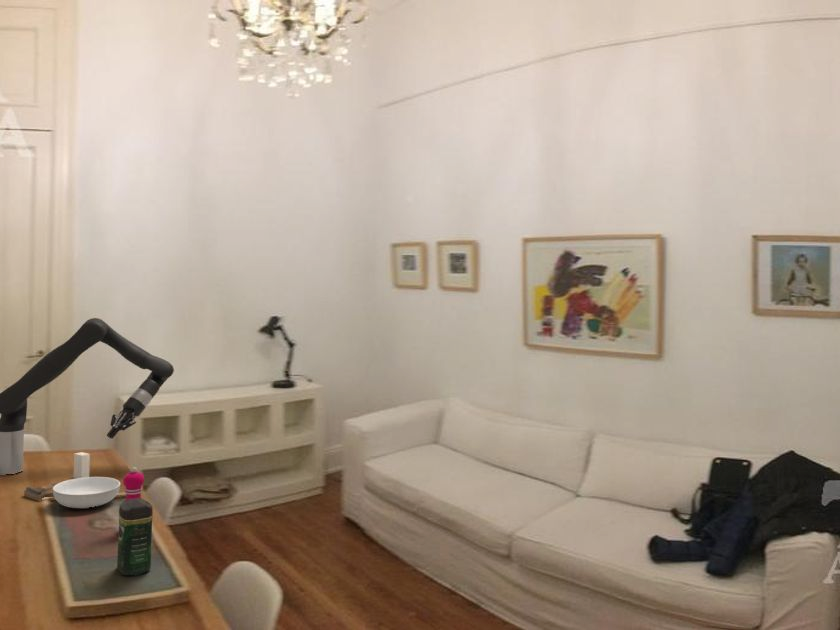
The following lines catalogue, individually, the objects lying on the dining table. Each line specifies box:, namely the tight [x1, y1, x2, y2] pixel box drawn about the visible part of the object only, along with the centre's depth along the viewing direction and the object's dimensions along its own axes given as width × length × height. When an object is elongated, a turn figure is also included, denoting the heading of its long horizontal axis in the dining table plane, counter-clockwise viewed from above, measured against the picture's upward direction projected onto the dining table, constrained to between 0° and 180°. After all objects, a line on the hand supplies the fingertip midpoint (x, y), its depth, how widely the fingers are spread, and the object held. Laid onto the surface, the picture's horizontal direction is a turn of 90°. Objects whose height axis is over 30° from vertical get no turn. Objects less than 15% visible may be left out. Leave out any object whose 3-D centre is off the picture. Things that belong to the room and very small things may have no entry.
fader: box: [70, 451, 91, 480], centre depth 239 cm, size 4×6×10 cm
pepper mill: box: [122, 466, 145, 500], centre depth 198 cm, size 7×7×20 cm
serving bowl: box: [53, 476, 121, 509], centre depth 221 cm, size 21×21×7 cm
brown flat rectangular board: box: [23, 475, 93, 502], centre depth 234 cm, size 22×10×3 cm, turn 150°
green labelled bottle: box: [116, 498, 154, 576], centre depth 171 cm, size 10×8×19 cm
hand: (109, 437), depth 249 cm, fingers closed
